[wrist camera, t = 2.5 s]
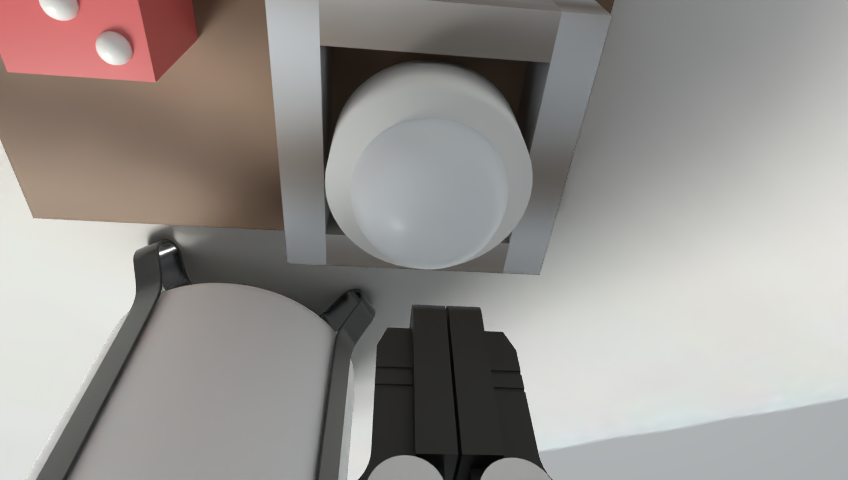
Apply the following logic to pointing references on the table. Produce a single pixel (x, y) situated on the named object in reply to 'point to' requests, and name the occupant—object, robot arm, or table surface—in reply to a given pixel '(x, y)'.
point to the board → (295, 116)
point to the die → (95, 37)
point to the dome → (427, 166)
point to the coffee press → (212, 385)
